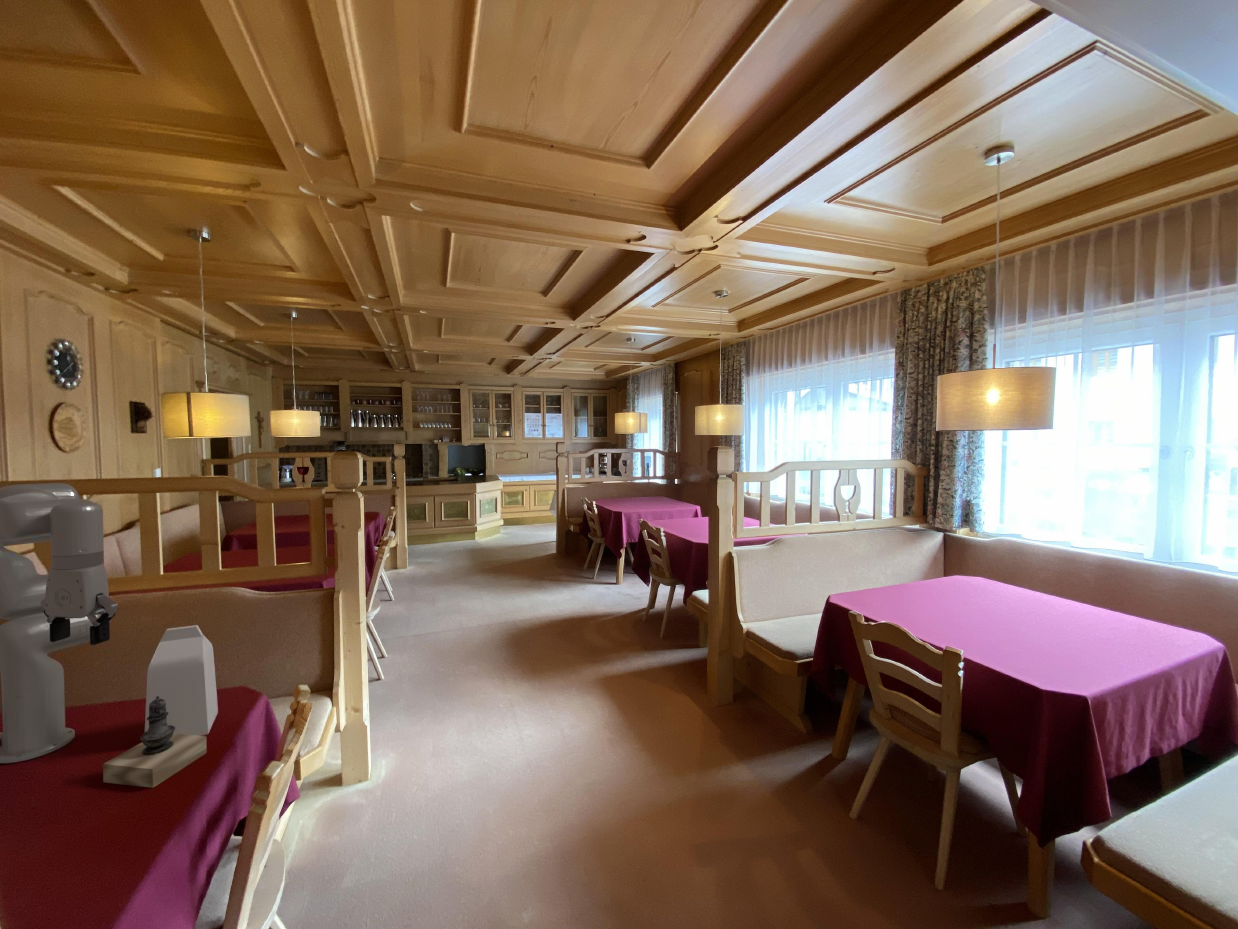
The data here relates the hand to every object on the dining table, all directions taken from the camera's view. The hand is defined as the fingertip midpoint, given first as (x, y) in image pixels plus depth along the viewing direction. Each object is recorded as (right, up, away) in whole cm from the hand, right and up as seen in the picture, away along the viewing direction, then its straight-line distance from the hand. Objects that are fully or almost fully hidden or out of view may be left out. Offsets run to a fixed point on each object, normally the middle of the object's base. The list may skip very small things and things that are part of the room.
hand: (80, 641), depth 106 cm
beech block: (+11, -30, +6) cm, 33 cm away
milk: (+4, -30, +21) cm, 37 cm away
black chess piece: (+11, -27, +6) cm, 29 cm away
